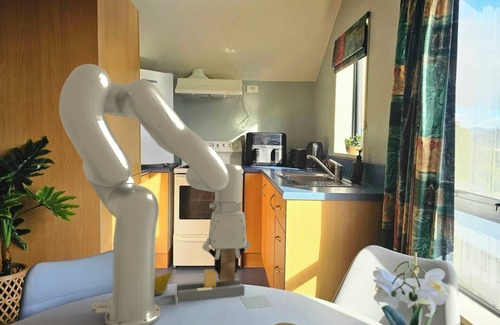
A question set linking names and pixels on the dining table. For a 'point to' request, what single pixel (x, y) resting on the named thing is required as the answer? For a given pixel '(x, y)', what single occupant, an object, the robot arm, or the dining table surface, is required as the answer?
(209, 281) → the switch tab
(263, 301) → the mat
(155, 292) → the yellow-filled grey round bowl
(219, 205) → the robot arm
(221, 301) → the dining table surface
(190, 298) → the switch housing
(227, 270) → the wooden block
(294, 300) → the dining table surface
